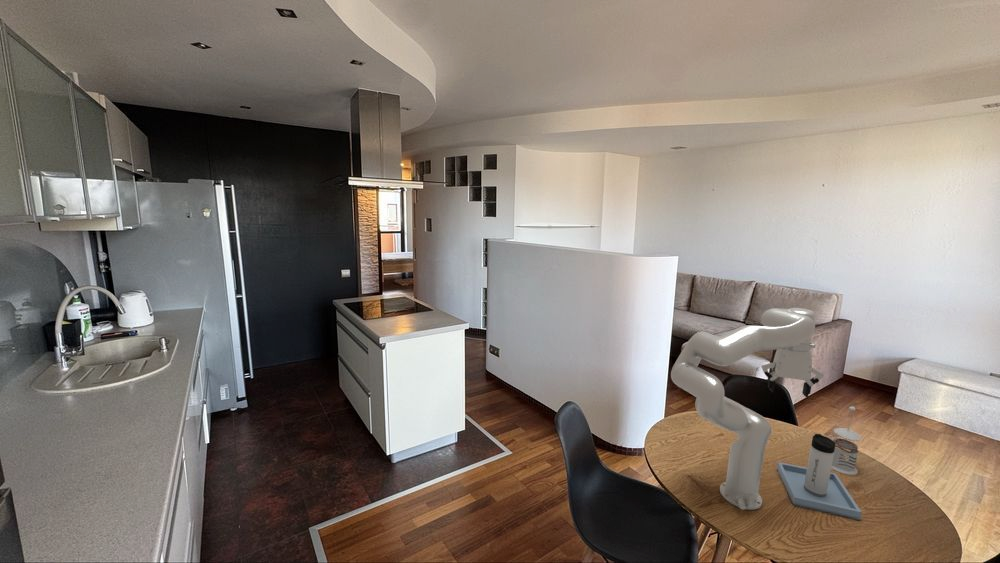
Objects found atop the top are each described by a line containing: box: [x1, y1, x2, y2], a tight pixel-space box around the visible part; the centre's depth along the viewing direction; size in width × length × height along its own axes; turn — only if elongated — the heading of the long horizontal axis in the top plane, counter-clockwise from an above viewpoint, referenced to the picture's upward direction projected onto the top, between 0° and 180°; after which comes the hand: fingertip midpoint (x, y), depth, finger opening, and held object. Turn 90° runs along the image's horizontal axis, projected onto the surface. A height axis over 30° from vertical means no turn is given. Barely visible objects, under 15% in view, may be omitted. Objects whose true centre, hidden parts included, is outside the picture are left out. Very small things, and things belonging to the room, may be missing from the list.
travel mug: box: [804, 433, 836, 497], centre depth 138 cm, size 6×7×20 cm
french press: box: [827, 406, 862, 476], centre depth 152 cm, size 10×12×25 cm
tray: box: [776, 461, 862, 521], centre depth 140 cm, size 20×18×3 cm
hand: (788, 392), depth 136 cm, fingers open, 9 cm apart
